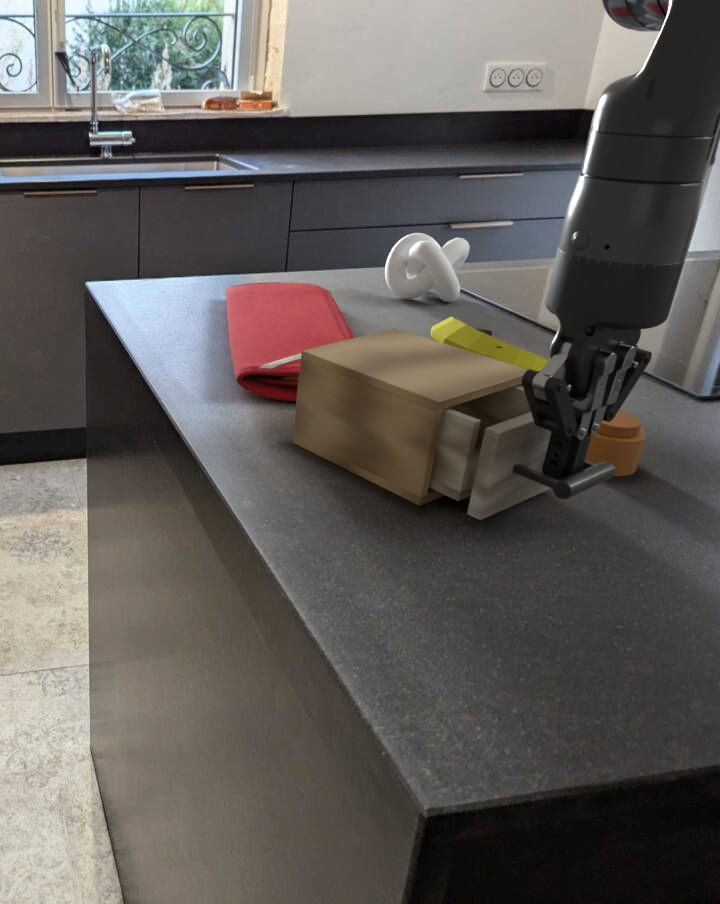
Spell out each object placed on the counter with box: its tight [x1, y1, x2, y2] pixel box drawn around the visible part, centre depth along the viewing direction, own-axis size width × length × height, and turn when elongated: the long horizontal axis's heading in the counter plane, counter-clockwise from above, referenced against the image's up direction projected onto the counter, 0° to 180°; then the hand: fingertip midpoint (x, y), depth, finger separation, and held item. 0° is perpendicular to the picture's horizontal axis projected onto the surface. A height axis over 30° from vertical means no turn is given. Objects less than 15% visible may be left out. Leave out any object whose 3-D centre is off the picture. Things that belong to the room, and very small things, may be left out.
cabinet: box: [291, 327, 528, 507], centre depth 73 cm, size 15×13×9 cm
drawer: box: [429, 385, 615, 521], centre depth 67 cm, size 18×11×7 cm, turn 33°
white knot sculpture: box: [384, 232, 471, 303], centre depth 124 cm, size 11×12×9 cm
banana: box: [430, 316, 549, 372], centre depth 98 cm, size 5×17×15 cm
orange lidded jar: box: [582, 410, 647, 477], centre depth 73 cm, size 5×5×4 cm
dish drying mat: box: [225, 281, 356, 402], centre depth 103 cm, size 16×41×4 cm, turn 174°
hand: (560, 476), depth 63 cm, fingers closed
